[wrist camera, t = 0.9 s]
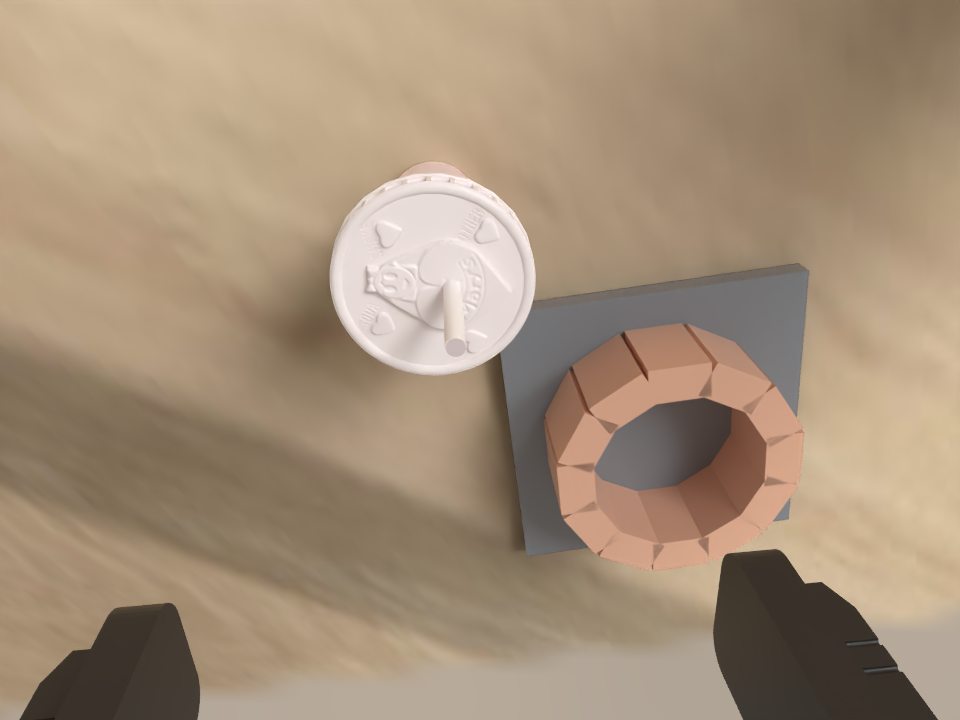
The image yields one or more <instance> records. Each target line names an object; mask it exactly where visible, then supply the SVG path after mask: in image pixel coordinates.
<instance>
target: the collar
mask: <svg viewBox="0 0 960 720" xmlns="http://www.w3.org/2000/svg"><path fill="white" fill-rule="evenodd" d="M808 276H809V270H807V269H806V268H804V267H803V266H801V265H800V264H799V263H798V264H791V265H784V266H777V267H770V268H763V269H756V270H749V271H742V272H735V273H728V274H721V275H714V276H707V277H700V278H693V279H686V280H680V281H673V282H666V283H659V284H652V285H645V286H638V287H631V288H624V289H617V290H610V291H603V292H596V293H589V294H582V295H575V296H568V297H561V298H554V299H547V300H540V301H533V303H532V306H531V309H530V312H529V314H528V317H527V319H526V321H525V323H524V324H523V326H522V328H521V329H520V331H519V332H518V334H517V335H516V336H515V338H514V339H513V340H512V341H511V342H510V343H509V344H508V345H507V346H506V347H505V348H504V349H503V350H502V351H501V352H500V357H501V365H502V373H503V380H504V388H505V396H506V403H507V411H508V419H509V426H510V434H511V442H512V449H513V457H514V465H515V472H516V480H517V488H518V495H519V503H520V511H521V518H522V526H523V534H524V541H525V548H526V553H527V556H532V555H539V554H546V553H553V552H560V551H567V550H574V549H581V548H590V549H591V550H592V551H593V552H594V553H595V554H596V553H598V554H599V556H600V557H603V558H606V559H610V560H613V561H617V562H620V563H623V564H627V565H630V566H634V567H637V568H640V569H644V570H647V571H648V570H649V569H650V567H651V566H652V569H653V571H658V570H665V569H672V568H679V567H686V566H693V565H700V564H707V563H708V555H709V557H710V558H711V559H712V560H713V561H715V560H717V559H719V558H721V557H722V556H724V555H726V554H728V553H729V552H731V551H733V550H734V549H736V548H738V547H740V546H741V545H743V544H745V543H747V542H748V541H750V540H752V539H754V538H755V537H757V536H759V535H760V534H762V532H761V530H760V529H759V527H760V528H763V529H766V530H767V528H768V527H769V526H770V524H771V523H772V522H773V521H780V520H787V519H789V507H790V497H791V495H792V494H793V493H794V491H795V490H796V489H797V487H798V486H797V484H796V483H795V482H800V476H801V464H802V453H803V442H804V432H803V430H802V428H803V427H802V425H801V424H800V422H799V421H798V419H797V410H798V398H799V386H800V373H801V361H802V349H803V337H804V325H805V313H806V300H807V288H808Z"/></svg>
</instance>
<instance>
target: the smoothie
mask: <svg viewBox="0 0 960 720" xmlns="http://www.w3.org/2000/svg"><path fill="white" fill-rule="evenodd" d="M535 284H536V273H535V264H534V258H533V254H532V250H531V247H530V243H529V239H528V236H527V233H526V231H525V230H524V228H523V226H522V225H521V223H520V221H519V220H518V218H517V216H516V215H515V213H514V211H513V210H512V209H511V208H510V207H509V206H508V205H506V204H505V203H504V202H503V201H502V200H501V199H500V198H499V197H498V196H497V195H496V194H495V193H494V192H492V191H490V190H488V189H486V188H485V187H483V186H481V185H479V184H477V183H475V182H474V181H472V180H470V179H468V178H467V177H466V176H465V175H464V174H463V173H462V172H461V171H459V170H458V169H457V168H455V167H453V166H451V165H449V164H446V163H442V162H434V161H431V162H423V163H419V164H417V165H414V166H412V167H411V168H409V169H407V170H406V171H405V172H404V173H403V174H402V175H401V176H400V177H399V178H398V179H395V180H392V181H389V182H386V183H385V184H383V185H382V186H380V187H379V188H377V189H375V190H374V191H372V192H371V193H369V194H368V195H366V196H365V197H363V198H362V199H361V201H360V202H359V203H358V204H357V205H356V206H355V207H354V209H353V210H352V211H351V212H350V213H349V214H348V215H347V216H346V218H345V220H344V222H343V224H342V226H341V228H340V230H339V232H338V235H337V237H336V239H335V241H334V247H333V253H332V259H331V265H330V289H331V296H332V300H333V304H334V307H335V310H336V312H337V315H338V317H339V319H340V321H341V323H342V324H343V326H344V328H345V329H346V331H347V332H348V333H349V335H350V336H351V337H352V339H353V340H354V341H355V342H356V343H357V344H358V345H359V346H360V347H361V348H362V349H363V350H364V351H366V352H367V353H368V354H370V355H371V356H372V357H374V358H376V359H377V360H379V361H380V362H382V363H384V364H386V365H388V366H391V367H393V368H396V369H398V370H402V371H405V372H409V373H414V374H421V375H446V374H453V373H458V372H462V371H465V370H468V369H471V368H474V367H476V366H478V365H481V364H482V363H484V362H486V361H488V360H490V359H491V358H493V357H494V356H496V355H497V354H498V353H499V352H501V351H502V350H503V349H504V348H505V347H506V346H507V345H508V344H509V343H510V342H511V341H512V340H513V339H514V338H515V336H516V335H517V334H518V332H519V331H520V329H521V328H522V326H523V324H524V323H525V321H526V319H527V317H528V314H529V312H530V309H531V306H532V303H533V298H534V293H535Z"/></svg>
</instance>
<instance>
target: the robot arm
mask: <svg viewBox="0 0 960 720" xmlns="http://www.w3.org/2000/svg"><path fill="white" fill-rule="evenodd" d="M713 636H714V646H715V652H716V656H717V660H718V664H719V667H720V669H721V672H722V674H723V677H724V679H725V681H726V683H727V685H728V688H729V689H730V691H731V694H732V696H733V698H734V701H735V703H736V705H737V707H738V709H739V711H740V714H741V716H742V718H743V720H938V719H937V718H936V716H935V715H934V714H933V712H932V711H931V710H930V708H929V707H928V705H927V704H926V703H925V701H924V700H923V699H922V697H921V696H920V695H919V693H918V692H917V691H916V689H915V688H914V687H913V685H912V684H911V683H910V681H909V680H908V678H907V677H906V676H905V674H904V673H903V672H899V670H898V667H897V664H896V662H895V661H894V660H893V658H892V657H891V655H890V654H889V653H888V651H887V650H886V649H885V647H884V646H883V645H880V644H879V642H878V638H877V636H876V635H875V634H874V632H873V631H872V630H871V628H870V627H869V625H868V624H867V623H866V621H865V620H864V619H863V617H862V616H861V615H860V613H859V612H858V611H857V609H856V608H855V607H854V606H853V605H851V604H850V603H849V602H847V601H846V600H845V599H843V598H842V597H841V596H839V595H838V594H837V593H835V592H834V591H833V590H831V589H830V588H829V587H827V586H826V585H825V584H823V583H822V582H817V583H807V584H805V583H804V582H803V580H802V579H801V578H800V576H799V575H798V573H797V572H796V570H795V569H794V567H793V566H792V564H791V563H790V561H789V560H788V558H787V557H786V556H785V554H783V553H782V552H781V551H780V550H777V549H772V550H761V551H750V552H740V553H729V554H726V555H725V556H724V558H723V561H722V566H721V574H720V582H719V590H718V597H717V605H716V613H715V620H714V629H713ZM199 704H200V686H199V678H198V674H197V671H196V668H195V665H194V661H193V658H192V655H191V652H190V649H189V645H188V642H187V639H186V636H185V633H184V629H183V626H182V623H181V620H180V617H179V613H178V611H177V609H176V607H175V606H174V605H173V604H171V603H164V604H153V605H142V606H132V607H121V608H116V609H114V610H113V611H112V612H111V613H110V614H109V615H108V617H107V619H106V621H105V623H104V624H103V626H102V628H101V630H100V632H99V634H98V636H97V638H96V640H95V642H94V644H93V646H92V648H91V649H87V650H76V651H72V652H71V653H70V654H69V655H68V656H67V657H66V658H65V659H64V660H63V661H62V662H61V663H60V664H59V665H58V666H57V667H56V668H55V669H54V670H53V671H52V672H51V673H50V674H49V675H48V676H47V677H46V678H45V679H44V680H43V681H42V682H41V683H40V684H39V686H38V688H37V690H36V691H35V693H34V695H33V697H32V699H31V700H30V702H29V704H28V706H27V707H26V709H25V711H24V713H23V714H22V716H21V718H20V720H197V718H198V712H199Z"/></svg>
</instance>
